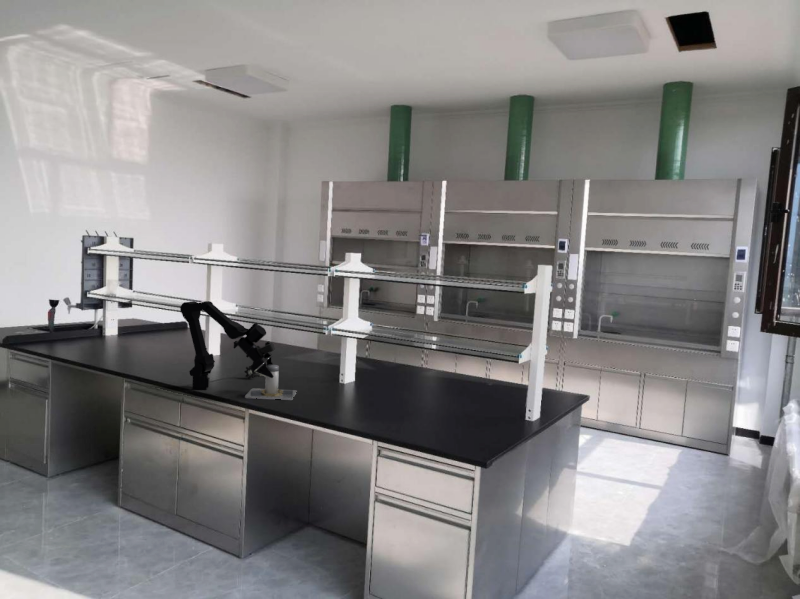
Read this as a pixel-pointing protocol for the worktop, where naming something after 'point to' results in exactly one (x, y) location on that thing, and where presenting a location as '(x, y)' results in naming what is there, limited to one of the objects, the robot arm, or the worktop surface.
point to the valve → (251, 372)
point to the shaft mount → (261, 394)
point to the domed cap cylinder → (272, 380)
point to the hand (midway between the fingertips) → (274, 375)
